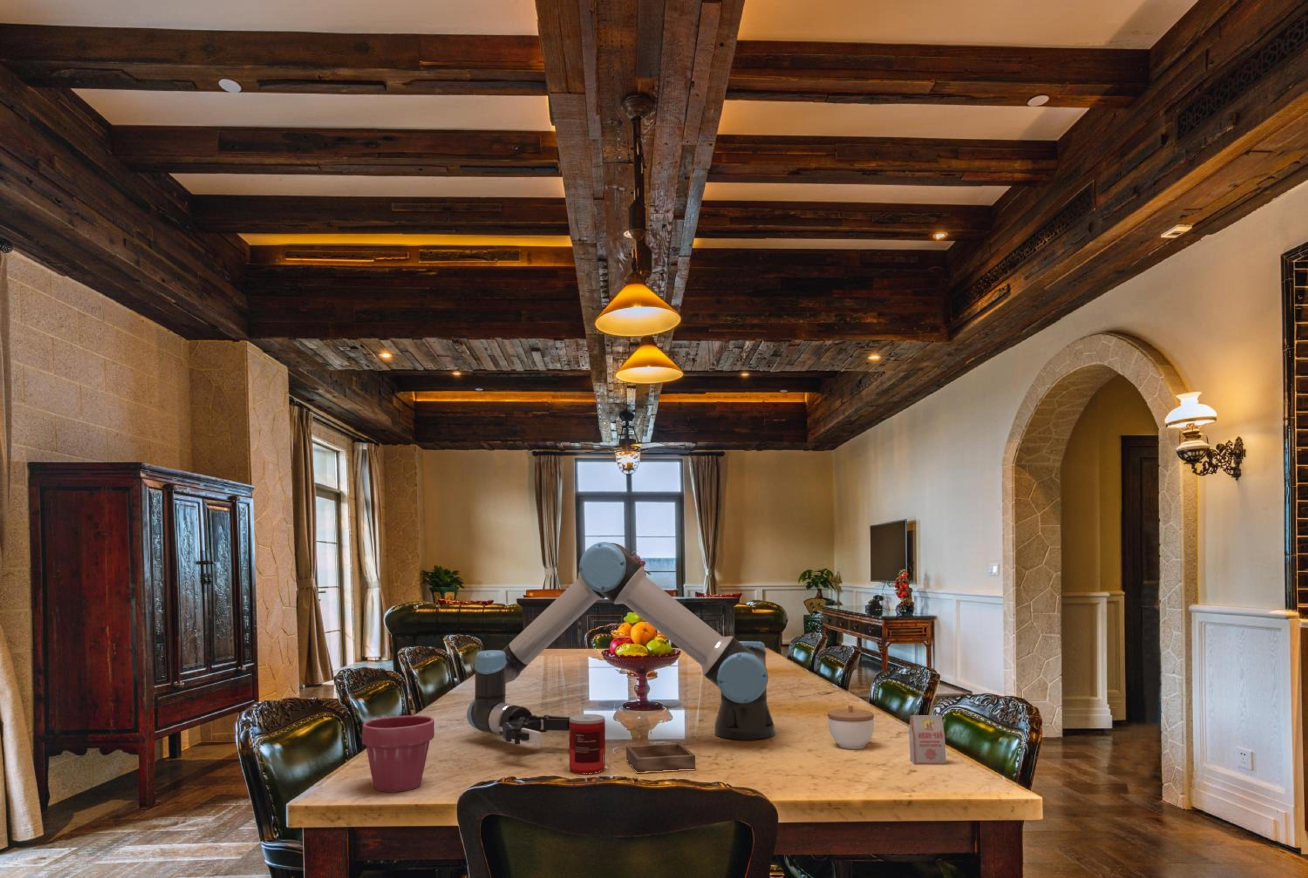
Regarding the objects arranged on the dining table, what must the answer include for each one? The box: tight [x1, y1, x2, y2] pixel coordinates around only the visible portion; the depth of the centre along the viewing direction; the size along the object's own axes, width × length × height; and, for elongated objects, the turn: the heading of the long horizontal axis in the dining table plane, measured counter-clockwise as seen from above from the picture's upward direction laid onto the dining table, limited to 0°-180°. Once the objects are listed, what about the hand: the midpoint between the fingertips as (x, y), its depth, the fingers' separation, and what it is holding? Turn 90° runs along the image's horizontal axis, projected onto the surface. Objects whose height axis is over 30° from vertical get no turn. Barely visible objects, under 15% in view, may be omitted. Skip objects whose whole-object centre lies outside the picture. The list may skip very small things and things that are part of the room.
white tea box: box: [908, 714, 947, 766], centre depth 193 cm, size 4×7×10 cm, turn 87°
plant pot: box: [361, 715, 435, 793], centre depth 178 cm, size 14×14×13 cm
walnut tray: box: [625, 742, 696, 772], centre depth 193 cm, size 13×13×3 cm
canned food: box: [568, 713, 606, 775], centre depth 190 cm, size 8×8×11 cm
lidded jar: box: [827, 704, 875, 750], centre depth 209 cm, size 11×11×9 cm
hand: (565, 734), depth 195 cm, fingers open, 13 cm apart
